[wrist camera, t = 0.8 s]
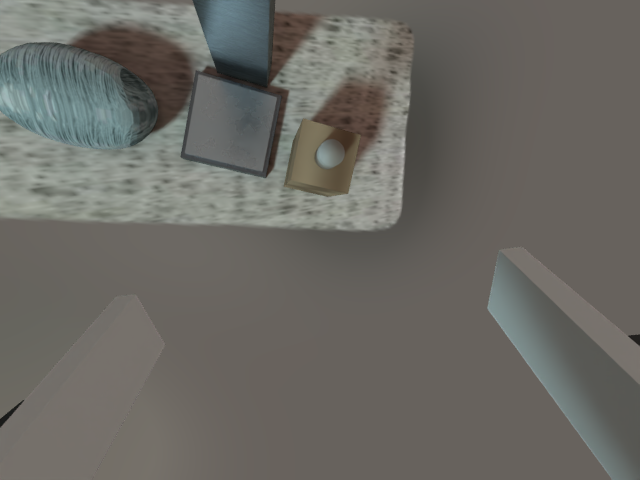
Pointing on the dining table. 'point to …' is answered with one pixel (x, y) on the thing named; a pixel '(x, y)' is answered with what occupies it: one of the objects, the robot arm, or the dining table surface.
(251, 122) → the press
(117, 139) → the blue grey streaked ovoid
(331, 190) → the brown bottle
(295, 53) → the dining table surface
